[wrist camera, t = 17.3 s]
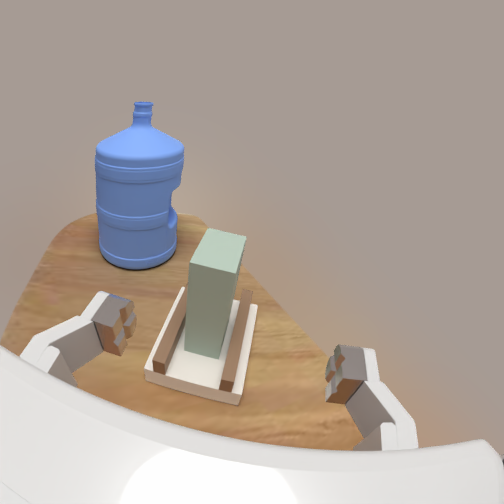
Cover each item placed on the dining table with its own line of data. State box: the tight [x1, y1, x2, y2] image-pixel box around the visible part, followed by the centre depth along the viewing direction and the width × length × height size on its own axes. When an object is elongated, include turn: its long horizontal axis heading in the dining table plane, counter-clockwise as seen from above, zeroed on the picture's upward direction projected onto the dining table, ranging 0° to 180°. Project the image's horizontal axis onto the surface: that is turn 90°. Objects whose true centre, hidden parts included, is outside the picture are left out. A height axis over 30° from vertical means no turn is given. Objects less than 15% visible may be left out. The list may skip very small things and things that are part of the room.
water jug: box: [95, 102, 184, 269], centre depth 49 cm, size 16×16×28 cm
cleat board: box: [144, 283, 258, 406], centre depth 39 cm, size 12×16×6 cm
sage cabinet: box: [184, 228, 246, 360], centre depth 35 cm, size 4×8×14 cm, turn 172°
